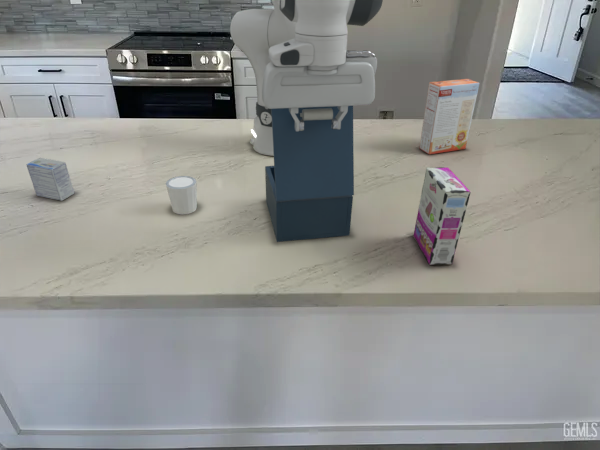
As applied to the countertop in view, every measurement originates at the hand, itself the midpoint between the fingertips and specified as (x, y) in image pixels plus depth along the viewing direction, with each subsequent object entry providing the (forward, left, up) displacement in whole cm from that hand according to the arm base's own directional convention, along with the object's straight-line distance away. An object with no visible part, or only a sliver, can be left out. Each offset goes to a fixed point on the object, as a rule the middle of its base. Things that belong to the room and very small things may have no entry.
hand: (317, 129), depth 82 cm
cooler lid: (-2, -2, -5) cm, 6 cm away
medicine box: (+13, -64, -24) cm, 70 cm away
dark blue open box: (-7, -5, -24) cm, 26 cm away
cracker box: (-66, +14, -24) cm, 71 cm away
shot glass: (+3, -32, -24) cm, 40 cm away
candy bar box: (-8, +24, -24) cm, 35 cm away
